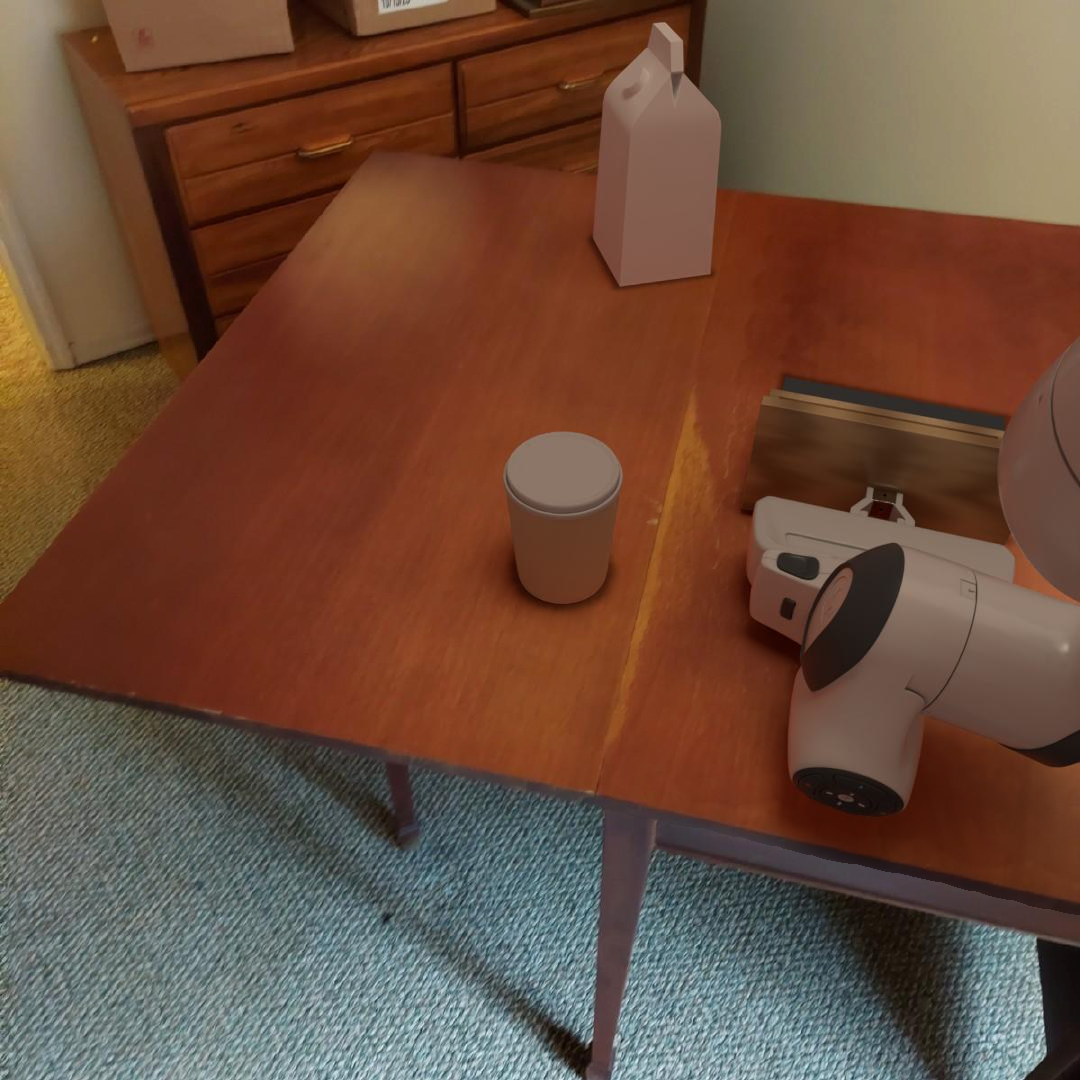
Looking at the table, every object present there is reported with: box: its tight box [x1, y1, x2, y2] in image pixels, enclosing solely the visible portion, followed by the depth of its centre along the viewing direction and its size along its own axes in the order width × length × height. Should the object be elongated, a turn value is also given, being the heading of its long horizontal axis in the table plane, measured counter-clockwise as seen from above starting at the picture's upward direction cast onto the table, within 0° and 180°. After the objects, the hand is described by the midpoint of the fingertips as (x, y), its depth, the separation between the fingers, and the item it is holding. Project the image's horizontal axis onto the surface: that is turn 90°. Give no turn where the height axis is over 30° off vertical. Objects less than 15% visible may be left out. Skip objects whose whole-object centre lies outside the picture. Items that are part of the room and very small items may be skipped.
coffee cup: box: [502, 431, 624, 605], centre depth 78 cm, size 9×9×12 cm
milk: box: [592, 21, 722, 288], centre depth 110 cm, size 12×12×26 cm
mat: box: [781, 376, 1005, 431], centre depth 93 cm, size 22×18×1 cm
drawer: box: [740, 388, 1011, 547], centre depth 85 cm, size 22×14×13 cm, turn 72°
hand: (882, 495), depth 81 cm, fingers closed, pressing on drawer
